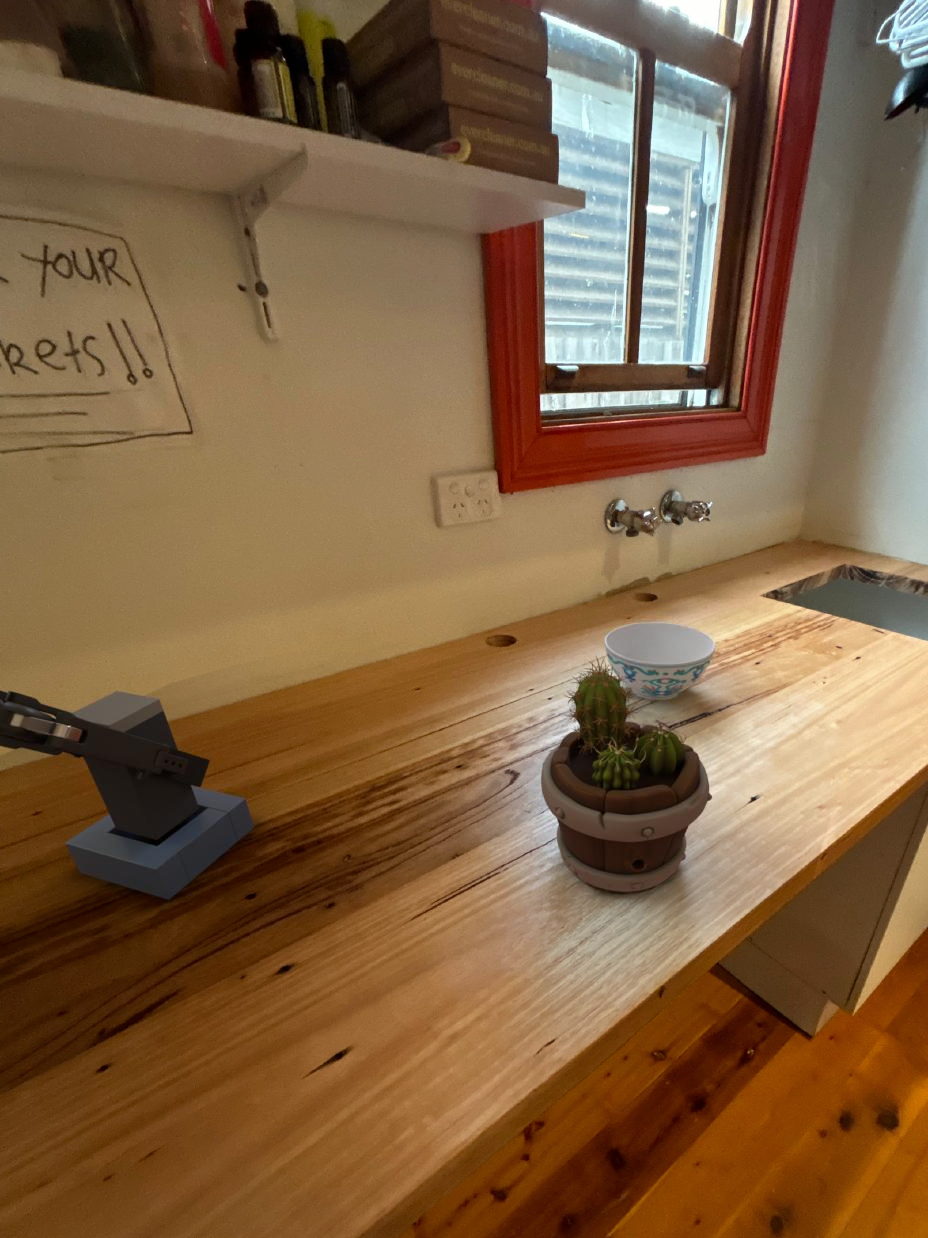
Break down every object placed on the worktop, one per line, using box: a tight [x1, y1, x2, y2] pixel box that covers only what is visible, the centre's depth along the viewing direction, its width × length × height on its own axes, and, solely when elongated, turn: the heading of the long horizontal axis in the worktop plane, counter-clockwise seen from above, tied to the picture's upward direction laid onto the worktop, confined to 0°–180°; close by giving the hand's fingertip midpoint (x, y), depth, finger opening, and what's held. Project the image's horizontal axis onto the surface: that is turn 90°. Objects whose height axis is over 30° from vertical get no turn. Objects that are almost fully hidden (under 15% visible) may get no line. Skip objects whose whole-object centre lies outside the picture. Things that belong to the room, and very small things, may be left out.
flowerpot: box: [540, 654, 713, 895], centre depth 56 cm, size 14×15×20 cm
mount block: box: [64, 785, 255, 900], centre depth 62 cm, size 11×11×4 cm
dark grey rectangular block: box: [72, 690, 199, 841], centre depth 57 cm, size 5×5×12 cm
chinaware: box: [604, 621, 716, 701], centre depth 90 cm, size 15×15×8 cm
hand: (178, 767), depth 62 cm, fingers closed on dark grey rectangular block, 5 cm apart
